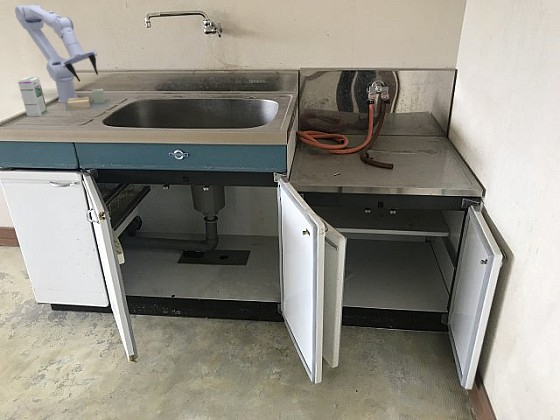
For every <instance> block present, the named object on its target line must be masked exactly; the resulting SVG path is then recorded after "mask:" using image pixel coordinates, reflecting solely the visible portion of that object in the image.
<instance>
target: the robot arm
mask: <svg viewBox="0 0 560 420" xmlns="http://www.w3.org/2000/svg"><path fill="white" fill-rule="evenodd" d="M14 14H15V17H16V19H17V21H18V22H19V25H21V27H22V28H23V29H24V30H26V32H27V33H28V34H29V36H30V37H31V39H32V40H33V42H34V43H35V45H36V46H37V47H38V49H39V50H40V52H41V53H42V55H43V56H44V58H45V59H46V61H47V63H46V70H47V73H48V75H49V76H50V77H49V78H51V80H52V81H54V82H55V86H56V90H57V91H56V92H57V95H58V101H57V102H68V99H69V98H79V97H78V95H77V93H76V88H75V83H74V79H75V78H76V79H77V81H78V82H79V83H80V82H81V79H80V77H79V76H78V74H77V70H76V67H75V66H74V64H76V63H79V62H82V61H85V60H88V59H89V61H90V63H91V65H92V67H93V70H94V72H95V74H96V76H98V75H99V72H98V68H97V59H96V57H97V56H98V53H97V51H96V49H93V50H87V51H85V52H84V50H83V48H82V46H81V43H80V42H79V39H78V38H77V36H76V34H75V31H74V30H75V29H74V22H73V21H72V19H71V18H70V17H69V16H65V17H62V16H61V15H60V14H56V13H55V11H53V10H51V11H46V10H44V9H43V7H42V6H41V5H39V4H31V5H16V6H15V8H14ZM44 24H45V25H46V26H48V27H50V28H51V29H52V30H53V32H54V33H55V34H56V35H57V36H58V38H59V39H61V41H62V43H63V45H64V47H65V49H66V51H67V53H68V55H69V58H65V57H61V56H60V55H59V54H58V51H57V50H56V49H55V48H54V46H53V45H52V43H51V42H50V41H49V38H47V36H46V35H45V33H44V32H43V30H42V29H43V28H44V26H45V25H44Z"/></svg>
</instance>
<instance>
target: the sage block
mask: <svg viewBox="0 0 560 420" xmlns="http://www.w3.org/2000/svg"><path fill="white" fill-rule="evenodd" d="M91 94H92V99H93V101H94V103H104V102H105V100H106V99H105V93H104V89H103V88H97V89H91Z"/></svg>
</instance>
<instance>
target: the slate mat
mask: <svg viewBox="0 0 560 420" xmlns="http://www.w3.org/2000/svg"><path fill="white" fill-rule="evenodd" d="M89 101H90V108H86V109H85V110H92V109H101V108H109V107H110V104H109V100H108V99H105V102H104V103H94V100H89ZM81 110H82V111H83V110H84V109H76V110H75V111H81ZM70 111H71V112H72V111H74V110H69V105H68V102H67V103H65V112H70Z"/></svg>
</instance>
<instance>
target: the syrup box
mask: <svg viewBox="0 0 560 420" xmlns="http://www.w3.org/2000/svg"><path fill="white" fill-rule="evenodd" d="M17 83H18V88H19V91H20V94H21V98H22V102H23V105H24V109H25V113H26V115H27V117H35V116H36V117H39V116H43V115H45V114H47V113H48V108H47V104H46V100H45V96H44V93H43V88H42V85H41V81H40V77H38V76H29V77H24V78H21V79H20V80H18V81H17Z"/></svg>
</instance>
